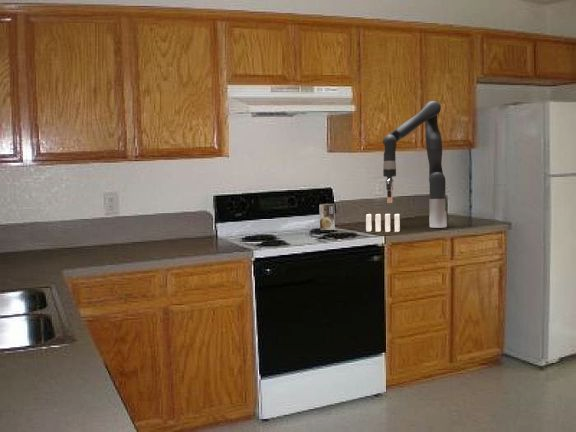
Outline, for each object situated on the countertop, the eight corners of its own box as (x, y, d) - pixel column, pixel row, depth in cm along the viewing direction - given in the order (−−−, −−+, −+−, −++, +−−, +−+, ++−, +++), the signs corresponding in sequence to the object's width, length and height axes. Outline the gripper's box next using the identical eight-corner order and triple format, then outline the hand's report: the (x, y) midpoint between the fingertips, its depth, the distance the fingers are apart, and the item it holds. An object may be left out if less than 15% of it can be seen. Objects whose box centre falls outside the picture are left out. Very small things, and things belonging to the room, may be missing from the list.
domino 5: (399, 231, 352) (399, 213, 352) (398, 231, 348) (398, 214, 347) (395, 231, 353) (395, 214, 352) (394, 231, 348) (394, 214, 348)
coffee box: (335, 229, 371) (334, 203, 370) (334, 230, 364) (334, 204, 363) (320, 230, 372) (319, 203, 370) (319, 231, 365) (319, 204, 364)
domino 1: (371, 230, 357) (371, 214, 357) (370, 231, 353) (370, 214, 352) (367, 230, 358) (367, 214, 357) (366, 231, 353) (365, 214, 353)
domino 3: (392, 202, 364) (392, 185, 364) (391, 202, 360) (391, 186, 359) (388, 202, 365) (388, 185, 364) (387, 202, 360) (387, 186, 359)
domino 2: (380, 231, 356) (380, 214, 355) (379, 231, 351) (379, 214, 350) (376, 231, 356) (376, 214, 356) (375, 231, 352) (375, 214, 351)
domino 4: (390, 231, 354) (390, 214, 353) (389, 231, 349) (389, 214, 349) (386, 231, 355) (386, 214, 354) (385, 231, 350) (384, 214, 349)
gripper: (385, 168, 369) (385, 196, 370) (381, 168, 355) (381, 197, 356) (397, 168, 366) (397, 196, 368) (394, 168, 353) (394, 197, 354)
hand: (389, 196), depth 362 cm, fingers closed on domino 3, 5 cm apart
